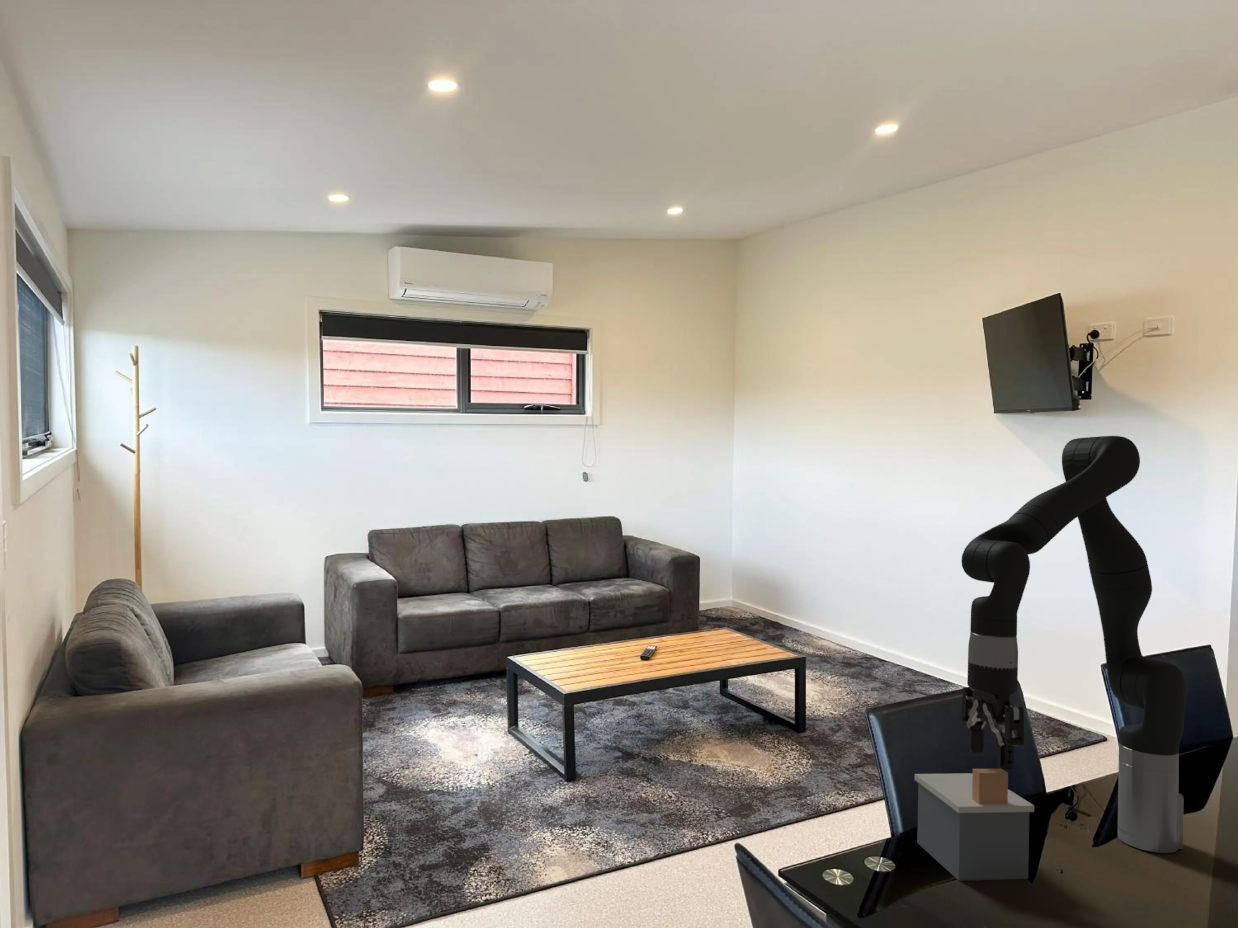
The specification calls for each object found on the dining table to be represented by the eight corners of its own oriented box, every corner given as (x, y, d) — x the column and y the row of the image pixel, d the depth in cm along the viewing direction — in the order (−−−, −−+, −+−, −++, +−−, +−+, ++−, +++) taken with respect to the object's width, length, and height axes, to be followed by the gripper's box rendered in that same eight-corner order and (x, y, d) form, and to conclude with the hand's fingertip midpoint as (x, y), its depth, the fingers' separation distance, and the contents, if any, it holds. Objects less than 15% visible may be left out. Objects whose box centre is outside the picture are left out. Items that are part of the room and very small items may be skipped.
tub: (980, 841, 148) (981, 779, 148) (1028, 878, 134) (1029, 810, 134) (917, 842, 146) (918, 780, 146) (958, 880, 132) (960, 811, 133)
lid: (982, 785, 148) (983, 745, 149) (1033, 819, 134) (1034, 774, 134) (914, 786, 147) (915, 745, 147) (958, 820, 132) (959, 775, 132)
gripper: (1040, 671, 129) (1038, 775, 128) (989, 652, 143) (987, 746, 143) (995, 670, 128) (993, 775, 128) (949, 652, 142) (946, 746, 142)
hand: (990, 759), depth 135 cm, fingers open, 8 cm apart
